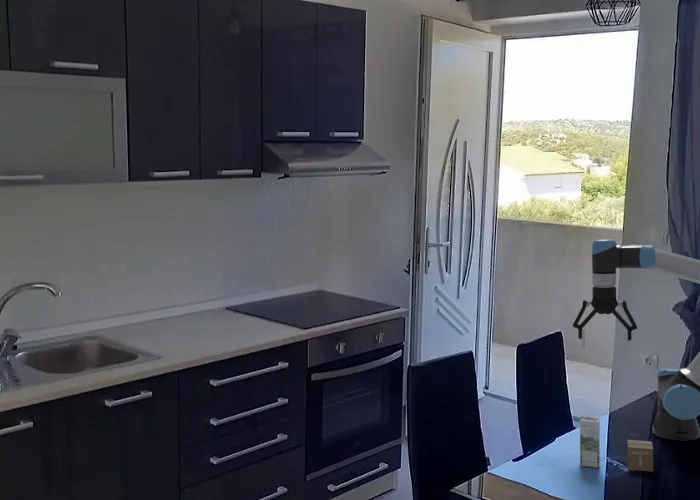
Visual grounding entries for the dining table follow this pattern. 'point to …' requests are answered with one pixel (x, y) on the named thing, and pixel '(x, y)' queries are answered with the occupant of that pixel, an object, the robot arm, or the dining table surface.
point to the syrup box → (590, 442)
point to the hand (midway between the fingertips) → (604, 349)
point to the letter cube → (640, 455)
